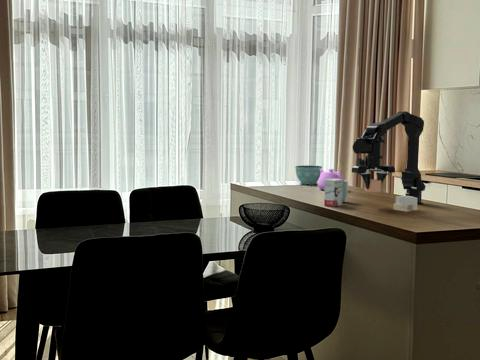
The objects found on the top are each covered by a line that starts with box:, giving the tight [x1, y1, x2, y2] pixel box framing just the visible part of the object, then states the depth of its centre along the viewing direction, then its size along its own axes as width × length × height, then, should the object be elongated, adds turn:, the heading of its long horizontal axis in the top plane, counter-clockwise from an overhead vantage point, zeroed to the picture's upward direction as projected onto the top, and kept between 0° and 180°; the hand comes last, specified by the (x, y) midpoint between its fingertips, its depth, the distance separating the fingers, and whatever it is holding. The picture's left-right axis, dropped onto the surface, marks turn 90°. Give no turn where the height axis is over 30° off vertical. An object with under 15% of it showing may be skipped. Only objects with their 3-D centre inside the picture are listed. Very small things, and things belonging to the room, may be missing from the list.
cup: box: [342, 179, 349, 203], centre depth 261 cm, size 8×8×10 cm
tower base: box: [392, 202, 419, 213], centre depth 240 cm, size 7×7×3 cm
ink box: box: [323, 178, 344, 208], centre depth 250 cm, size 9×5×12 cm, turn 143°
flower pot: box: [294, 165, 323, 186], centre depth 338 cm, size 16×16×11 cm
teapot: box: [317, 168, 344, 191], centre depth 309 cm, size 20×13×12 cm, turn 27°
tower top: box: [395, 195, 418, 205], centre depth 239 cm, size 6×6×3 cm
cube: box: [364, 179, 382, 193], centre depth 245 cm, size 5×5×5 cm
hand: (372, 189), depth 245 cm, fingers closed on cube, 5 cm apart
